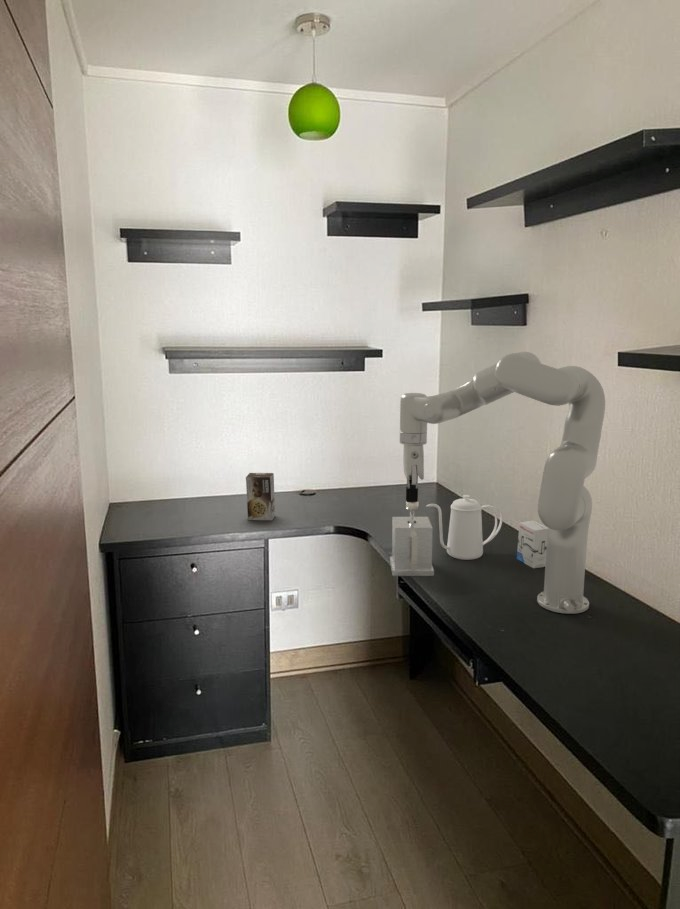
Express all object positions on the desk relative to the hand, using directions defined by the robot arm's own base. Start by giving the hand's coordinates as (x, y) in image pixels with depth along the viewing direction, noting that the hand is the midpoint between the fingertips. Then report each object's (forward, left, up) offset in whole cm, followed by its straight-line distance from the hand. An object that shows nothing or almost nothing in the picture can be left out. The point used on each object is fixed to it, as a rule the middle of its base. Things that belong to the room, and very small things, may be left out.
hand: (411, 501), depth 196 cm
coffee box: (+50, +49, -21) cm, 73 cm away
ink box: (+4, -36, -21) cm, 42 cm away
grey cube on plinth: (-1, 0, -20) cm, 20 cm away
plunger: (0, 0, -18) cm, 18 cm away
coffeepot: (+11, -17, -20) cm, 29 cm away
